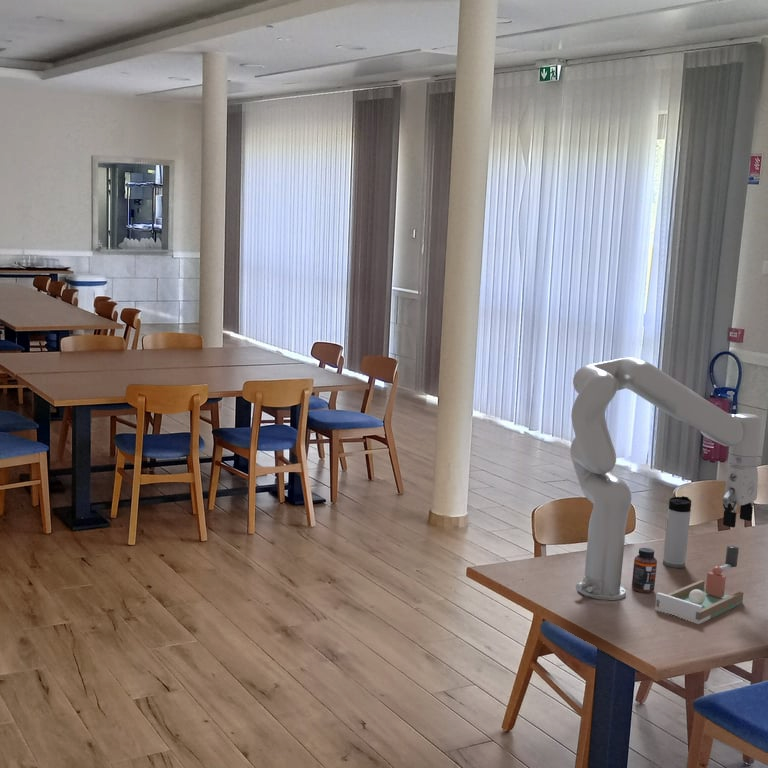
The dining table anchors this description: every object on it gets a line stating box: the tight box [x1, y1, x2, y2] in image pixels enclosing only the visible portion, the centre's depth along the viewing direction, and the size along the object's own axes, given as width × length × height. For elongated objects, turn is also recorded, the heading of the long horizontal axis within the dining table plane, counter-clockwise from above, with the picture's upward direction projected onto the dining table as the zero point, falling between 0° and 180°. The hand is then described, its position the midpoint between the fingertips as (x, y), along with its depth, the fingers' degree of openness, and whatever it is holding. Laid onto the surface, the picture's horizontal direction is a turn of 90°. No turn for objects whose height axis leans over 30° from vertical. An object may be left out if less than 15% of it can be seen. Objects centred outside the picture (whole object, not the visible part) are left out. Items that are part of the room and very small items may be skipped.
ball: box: [689, 589, 705, 605], centre depth 264 cm, size 4×4×4 cm
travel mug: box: [662, 495, 692, 569], centre depth 299 cm, size 6×7×20 cm
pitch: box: [654, 579, 744, 625], centre depth 266 cm, size 24×12×4 cm, turn 136°
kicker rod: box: [705, 545, 740, 598], centre depth 274 cm, size 11×4×12 cm, turn 136°
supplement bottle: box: [631, 547, 658, 594], centre depth 275 cm, size 6×6×11 cm
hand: (737, 523), depth 275 cm, fingers open, 9 cm apart
